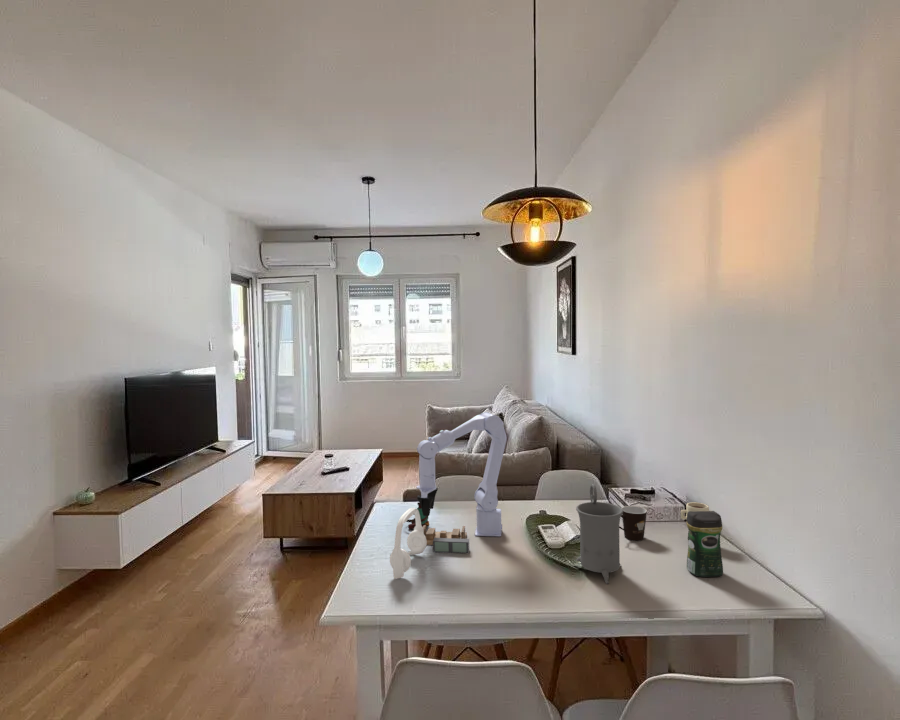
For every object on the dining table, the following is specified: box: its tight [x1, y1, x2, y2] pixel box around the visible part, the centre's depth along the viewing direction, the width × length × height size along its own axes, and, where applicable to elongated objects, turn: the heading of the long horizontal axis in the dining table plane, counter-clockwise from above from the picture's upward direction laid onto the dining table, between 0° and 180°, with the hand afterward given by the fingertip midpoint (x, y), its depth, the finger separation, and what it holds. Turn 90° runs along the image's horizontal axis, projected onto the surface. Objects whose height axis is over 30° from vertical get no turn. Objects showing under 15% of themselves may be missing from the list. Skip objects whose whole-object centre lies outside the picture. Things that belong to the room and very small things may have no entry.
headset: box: [389, 507, 427, 580], centre depth 166 cm, size 20×7×18 cm, turn 164°
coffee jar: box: [686, 510, 724, 578], centre depth 159 cm, size 10×8×19 cm
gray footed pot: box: [575, 483, 623, 585], centre depth 161 cm, size 19×15×25 cm
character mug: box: [680, 501, 710, 541], centre depth 182 cm, size 11×7×13 cm, turn 81°
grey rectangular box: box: [432, 538, 470, 554], centre depth 178 cm, size 12×3×4 cm, turn 82°
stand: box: [423, 525, 468, 546], centre depth 189 cm, size 16×10×4 cm, turn 83°
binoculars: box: [405, 501, 430, 529], centre depth 202 cm, size 9×11×10 cm
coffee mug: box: [619, 505, 648, 542], centre depth 187 cm, size 12×9×10 cm
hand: (428, 511), depth 189 cm, fingers open, 7 cm apart
